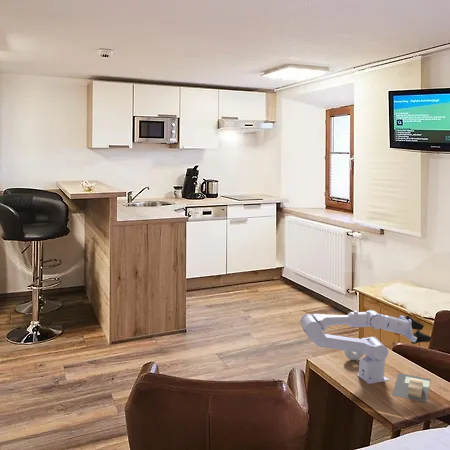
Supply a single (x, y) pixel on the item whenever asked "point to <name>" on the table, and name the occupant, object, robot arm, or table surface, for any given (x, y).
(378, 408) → the table surface
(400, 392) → the mat
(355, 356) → the donut
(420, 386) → the beige wooden block
